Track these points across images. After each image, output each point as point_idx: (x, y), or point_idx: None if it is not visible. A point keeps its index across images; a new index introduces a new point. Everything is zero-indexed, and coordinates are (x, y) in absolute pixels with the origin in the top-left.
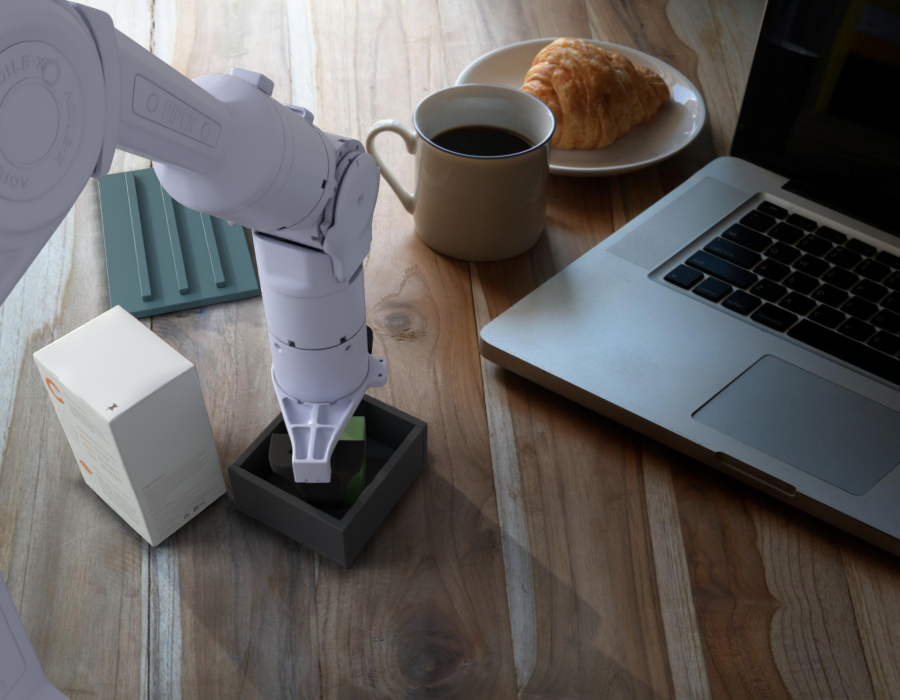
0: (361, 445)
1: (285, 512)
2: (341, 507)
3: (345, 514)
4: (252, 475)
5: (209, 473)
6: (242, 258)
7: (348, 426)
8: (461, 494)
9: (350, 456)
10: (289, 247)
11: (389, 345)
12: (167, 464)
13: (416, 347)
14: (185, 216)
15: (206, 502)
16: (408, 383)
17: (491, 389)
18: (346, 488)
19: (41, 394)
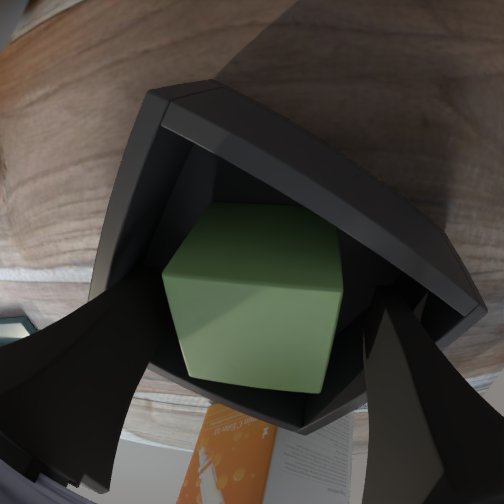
0: (483, 500)
1: None
2: (394, 286)
3: (350, 238)
4: (322, 420)
5: None
6: (6, 329)
7: (199, 308)
8: (293, 7)
9: (502, 499)
10: None
11: (14, 179)
12: (321, 499)
13: (7, 141)
14: None
15: None
16: (55, 140)
17: (50, 6)
18: (440, 350)
19: (186, 443)
